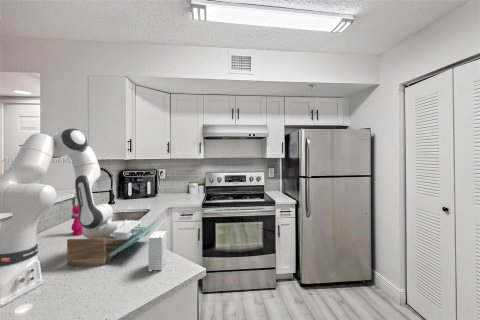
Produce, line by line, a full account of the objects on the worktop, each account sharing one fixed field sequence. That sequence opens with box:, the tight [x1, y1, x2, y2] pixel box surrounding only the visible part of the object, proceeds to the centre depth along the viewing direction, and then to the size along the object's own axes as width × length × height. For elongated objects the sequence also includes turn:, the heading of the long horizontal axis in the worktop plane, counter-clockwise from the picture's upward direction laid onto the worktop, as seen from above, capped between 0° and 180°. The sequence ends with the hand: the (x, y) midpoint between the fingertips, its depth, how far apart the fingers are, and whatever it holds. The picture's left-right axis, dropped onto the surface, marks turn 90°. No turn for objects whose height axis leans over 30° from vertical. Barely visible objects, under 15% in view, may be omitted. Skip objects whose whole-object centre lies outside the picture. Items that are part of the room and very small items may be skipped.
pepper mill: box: [71, 202, 83, 237], centre depth 145 cm, size 7×7×20 cm
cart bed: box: [66, 219, 134, 267], centre depth 117 cm, size 32×16×12 cm, turn 4°
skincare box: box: [147, 230, 167, 270], centre depth 100 cm, size 8×6×15 cm
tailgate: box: [108, 220, 158, 258], centre depth 118 cm, size 28×2×16 cm
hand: (144, 229), depth 119 cm, fingers closed
